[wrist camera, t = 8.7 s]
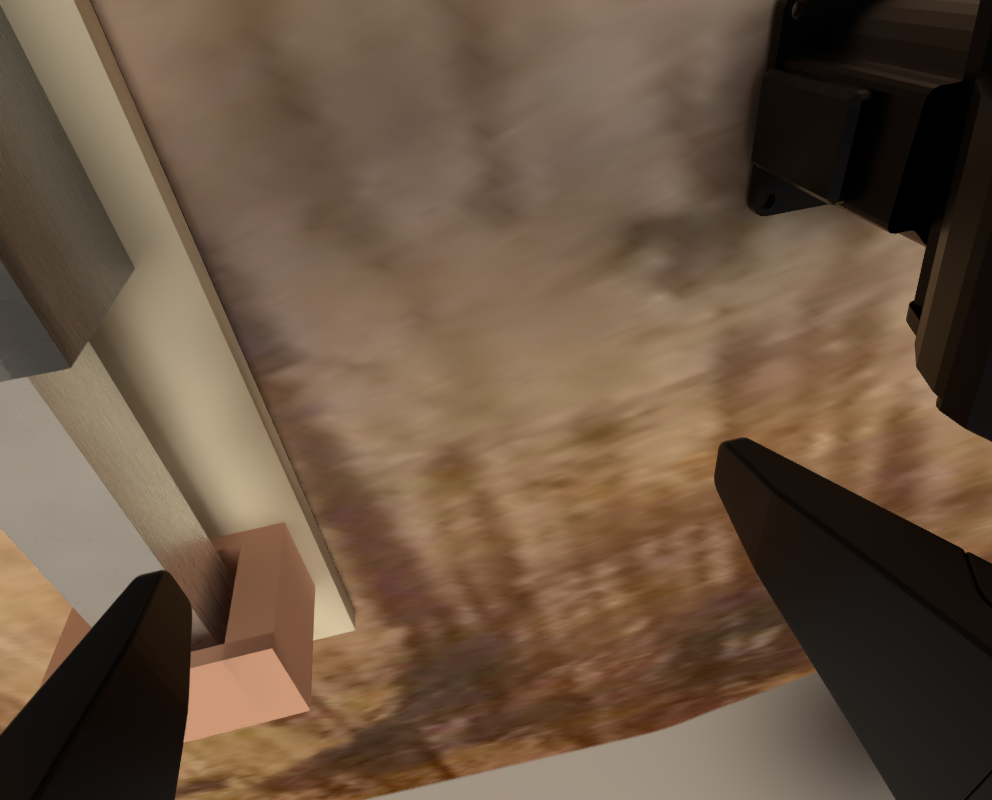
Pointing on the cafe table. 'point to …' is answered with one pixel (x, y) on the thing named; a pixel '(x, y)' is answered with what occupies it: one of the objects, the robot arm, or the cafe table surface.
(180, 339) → the base board
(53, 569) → the silver rectangular bar
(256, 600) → the terracotta socket
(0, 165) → the grey sleeve
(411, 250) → the cafe table surface
